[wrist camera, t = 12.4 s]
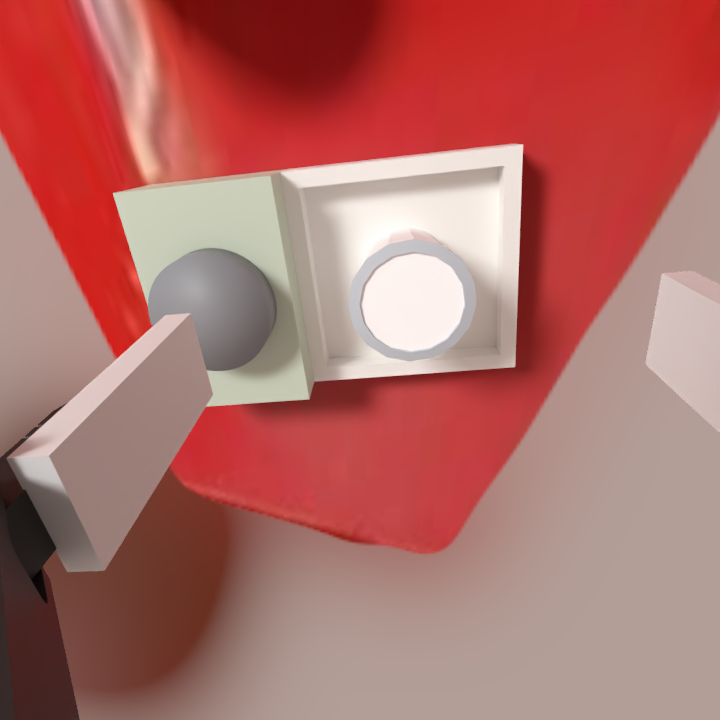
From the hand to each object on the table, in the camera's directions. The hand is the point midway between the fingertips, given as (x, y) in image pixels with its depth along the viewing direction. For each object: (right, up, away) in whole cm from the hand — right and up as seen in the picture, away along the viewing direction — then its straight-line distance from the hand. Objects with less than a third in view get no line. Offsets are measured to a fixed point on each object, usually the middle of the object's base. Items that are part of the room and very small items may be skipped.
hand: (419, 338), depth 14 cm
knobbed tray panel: (-3, +5, +19) cm, 20 cm away
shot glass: (+1, +5, +18) cm, 19 cm away
